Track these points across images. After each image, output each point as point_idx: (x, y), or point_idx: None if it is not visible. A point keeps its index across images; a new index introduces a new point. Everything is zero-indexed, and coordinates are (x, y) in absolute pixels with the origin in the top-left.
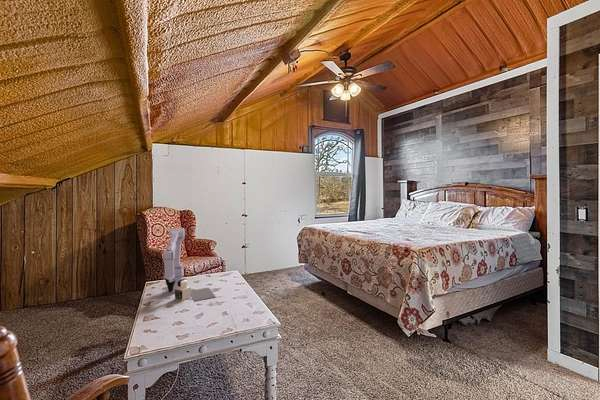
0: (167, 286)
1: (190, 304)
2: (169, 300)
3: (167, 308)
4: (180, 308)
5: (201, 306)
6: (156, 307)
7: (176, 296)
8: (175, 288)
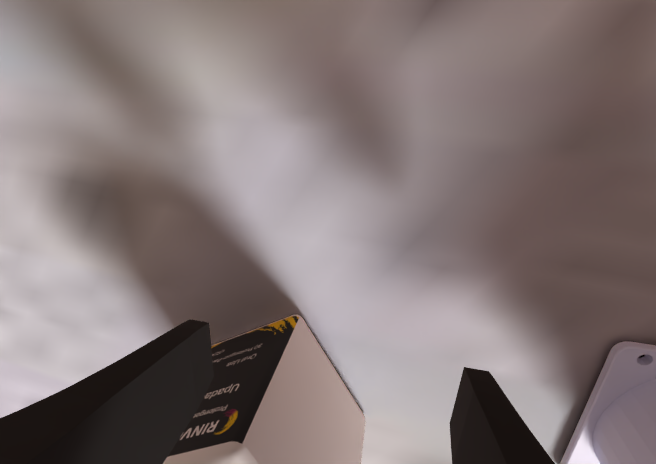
0: (478, 407)
1: (74, 374)
2: (295, 247)
3: (36, 171)
4: (4, 281)
5: (9, 413)
6: (110, 39)
7: (253, 349)
8: (223, 461)
